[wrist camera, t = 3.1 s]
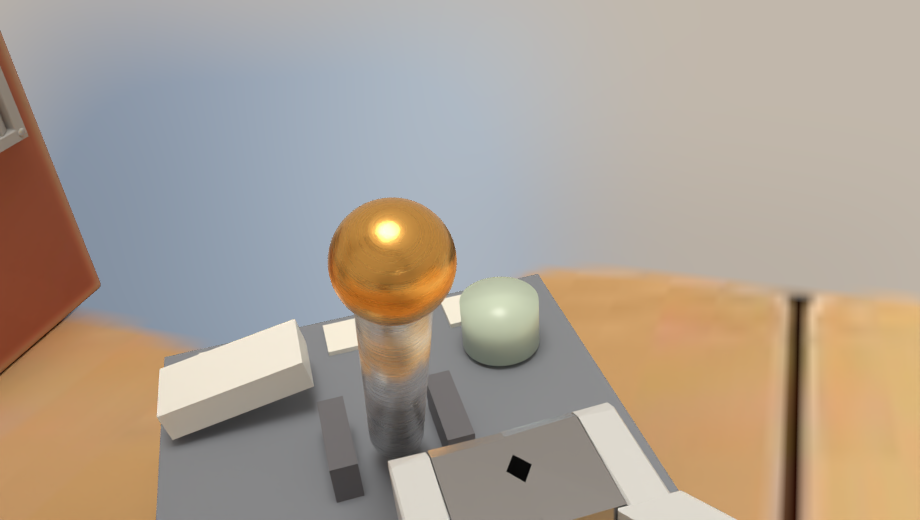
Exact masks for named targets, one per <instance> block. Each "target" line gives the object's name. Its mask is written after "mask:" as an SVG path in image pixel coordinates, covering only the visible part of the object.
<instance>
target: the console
mask: <svg viewBox="0 0 920 520" xmlns="http://www.w3.org/2000/svg"><path fill="white" fill-rule="evenodd" d="M518 279H519V280H522V281H524V282H526V283H528V284H530V285H531V286H532V287H533V288H534V289H535V290H536V292H537V294H538V297H539V340H540V341H539V346H538V348H537V350H536V351H535V353H534V354H533V355H532V356H531V357H529V358H528V359H526V360H524V361H522V362H520V363H517V364H513V365H508V366H491V365H486V364H483V363H480V362H478V361H476V360H474V359H473V358H471V357H470V356H469V355H468V354H467V353H466V351H465V349H464V347H463V338H462V327H461V316H460V304H459V300H460V296H461V294H462V293H463V291H460V292H455V293H451V294H448V295H447V296H446V298H445V299H444V300H443V302H442V303H441V304H440V305H439V306H438V307H437V308H436V309H435V310H434V311H433V321H432V334H431V346H430V359H429V372H428V385H427V398H426V411H425V424H424V435H423V439H422V441H421V443H420V445H419V446H418V448H417V449H416V450H415V451H414V452H413V453H411V454H410V455H414V454H419V453H423V452H426V453H427V451H428V450H432V449H436V448H440V447H444V446H449V445H453V444H457V443H461V442H465V441H469V440H473V439H477V438H482V437H486V436H490V435H494V434H498V433H499V432H502V431H506V430H509V429H513V428H516V427H520V426H523V425H527V424H531V423H534V422H538V421H541V420H545V419H548V418H552V417H555V416H559V415H563V414H566V413H570V414H571V413H572V412H574V411H578V410H581V409H585V408H589V407H592V406H596V405H600V404H603V403H607V402H608V403H609V404H611V405H612V406H614V408H615V409H616V411H617V412H618V414H619V415H620V417H621V418H622V420H623V421H624V423H625V424H626V426H627V428H628V429H629V431H630V432H631V434H632V435H633V437H634V438H635V440H636V441H637V443H638V444H639V446H640V448H641V449H642V451H643V452H644V454H645V455H646V457H647V458H648V460H649V461H650V463H651V464H652V466H653V468H654V469H655V471H656V472H657V474H658V475H659V477H660V478H661V480H662V481H663V483H664V484H665V486H666V488H667V489H668V491H669V492H670V493H673V492H676V491H679V490H678V489H677V487H676V486H675V484H674V483H673V481H672V480H671V478H670V477H669V475H668V474H667V472H666V470H665V469H664V467H663V466H662V464H661V463H660V461H659V460H658V458H657V457H656V455H655V454H654V452H653V450H652V449H651V447H650V446H649V444H648V443H647V441H646V440H645V438H644V437H643V435H642V434H641V432H640V430H639V429H638V427H637V426H636V424H635V423H634V421H633V420H632V418H631V417H630V415H629V414H628V412H627V410H626V409H625V407H624V406H623V404H622V403H621V401H620V400H619V398H618V397H617V395H616V394H615V392H614V390H613V389H612V387H611V386H610V384H609V383H608V381H607V380H606V378H605V377H604V375H603V374H602V372H601V370H600V369H599V367H598V366H597V364H596V363H595V361H594V360H593V358H592V357H591V355H590V354H589V352H588V350H587V349H586V347H585V346H584V344H583V343H582V341H581V340H580V338H579V337H578V335H577V333H576V332H575V330H574V329H573V327H572V326H571V324H570V323H569V321H568V320H567V318H566V317H565V315H564V313H563V312H562V310H561V309H560V307H559V306H558V304H557V303H556V301H555V300H554V298H553V297H552V295H551V293H550V292H549V290H548V289H547V287H546V286H545V284H544V283H543V281H542V280H541V278H540V277H539V275H538V274H536V275H531V276H527V277H523V278H518ZM299 329H300V331H301V333H302V335H303V337H304V339H305V341H306V345H307V350H308V356H309V361H310V367H311V372H312V377H313V383H314V387H311V388H308V389H306V390H303V391H300V392H298V393H295V394H293V395H290V396H287V397H285V398H282V399H279V400H277V401H274V402H272V403H269V404H266V405H264V406H261V407H258V408H256V409H253V410H251V411H248V412H245V413H243V414H240V415H237V416H235V417H232V418H229V419H227V420H224V421H222V422H219V423H216V424H214V425H211V426H208V427H206V428H203V429H201V430H198V431H195V432H193V433H190V434H187V435H185V436H182V437H180V438H177V439H174V440H172V439H171V437H170V436H169V434H168V433H167V431H166V430H165V428H164V427H163V425H162V424H161V436H160V455H159V474H158V493H157V512H156V520H398V515H397V510H396V505H395V500H394V495H393V489H392V484H391V479H390V474H389V469H388V461H390V460H394V459H398V458H390V457H386V456H384V455H382V454H381V453H379V452H378V451H377V450H376V449H375V448H374V446H373V444H372V442H371V440H370V437H369V430H368V422H367V414H366V406H365V398H364V390H363V382H362V374H361V366H360V358H359V350H358V342H357V334H356V325H355V317H354V315H352V316H348V317H343V318H339V319H334V320H330V321H326V322H321V323H316V324H312V325H307V326H303V327H299ZM227 344H228V343H227ZM223 345H226V344H222V345H218V346H213V347H209V348H204V349H200V350H195V351H191V352H186V353H182V354H177V355H173V356H168V357H165V361H164V367H166V366H169V365H172V364H174V363H177V362H180V361H183V360H185V359H188V358H191V357H193V356H196V355H199V354H201V353H204V352H207V351H209V350H212V349H215V348H217V347H220V346H223ZM410 455H408V456H410ZM405 457H406V456H405Z"/></svg>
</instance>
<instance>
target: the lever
mask: <svg viewBox="0 0 920 520" xmlns="http://www.w3.org/2000/svg"><path fill="white" fill-rule="evenodd" d="M456 265H457V258H456V250H455V246H454V242H453V239H452V237H451V234H450V232H449V231H448V229H447V227H446V226H445V224H444V223H443V222H442V220H441V219H440V218H439V217H438V216H437V215H436V214H435V213H433V212H432V211H431V210H430V209H428V208H427V207H425V206H423V205H421V204H419V203H417V202H415V201H411V200H408V199H403V198H382V199H377V200H373V201H370V202H367V203H365V204H363V205H362V206H359V207H358V208H356V209H355V210H353V212H351V213H350V214H349V215H348V216H347V217H346V218H345V219H344V220H343V221H342V222H341V223H340V225H339V226H338V228H337V230H336V232H335V233H334V235H333V238H332V240H331V244H330V247H329V254H328V271H329V276H330V279H331V283H332V286H333V288H334V290H335V292H336V294H337V295H338V297H339V298H340V300H341V301H342V302H343V304H345V306H346V307H347V308H348V309H349V310H351V311H352V312H353V313H354V317H355V325H356V334H357V342H358V350H359V358H360V366H361V374H362V382H363V390H364V398H365V406H366V414H367V422H368V430H369V437H370V440H371V442H372V444H373V446H374V448H375V449H376V450H377V451H378V452H379V453H381V454H382V455H384V456H386V457H390V458H402V457H405V456H408V455H410V454H411V453H413V452H414V451H415V450H416V449H417V448H418V446H419V445H420V443H421V441H422V439H423V435H424V424H425V411H426V398H427V385H428V372H429V359H430V346H431V334H432V321H433V311H434V310H435V309H436V308H437V307H438V306H439V305H440V304H441V303H442V302H443V300H444V299H445V298H446V296H447V295H448V293H449V291H450V289H451V287H452V284H453V282H454V277H455V273H456Z"/></svg>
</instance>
